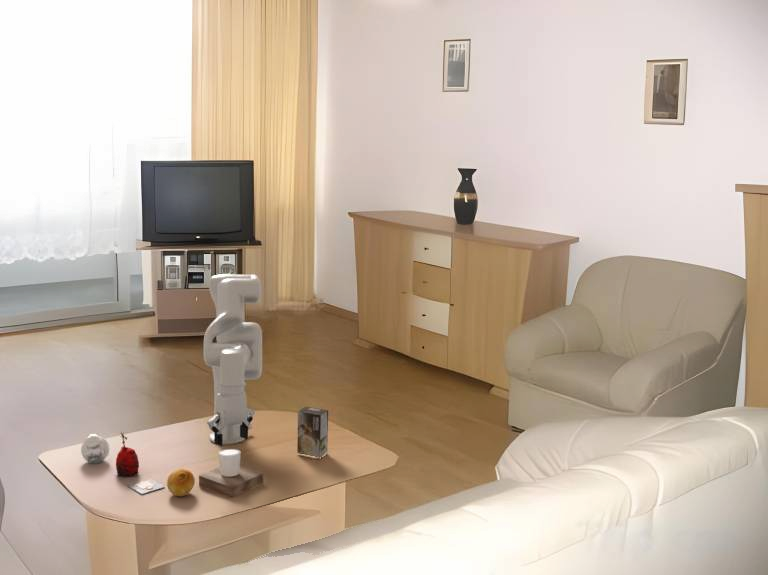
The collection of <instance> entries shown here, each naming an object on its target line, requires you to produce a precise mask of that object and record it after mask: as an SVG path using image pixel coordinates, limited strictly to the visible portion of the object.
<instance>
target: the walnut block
mask: <svg viewBox="0 0 768 575" xmlns="http://www.w3.org/2000/svg"><path fill="white" fill-rule="evenodd" d="M263 483H264V474H263V472H260V471H258V470H254V469H251V468H248V467H246V466H243V465H240V467H239V474H238V475H236V476H231V477H226V476H222V475H221V470H220V466H219V467H217V468H214V469H211V470H209V471H206V472H205V473H202V474H199V475H198V486H199V487H202V488H203V489H207V490H210V491H213V492H215V493H217V492H218V494H221V495H223V496H225V495H226V496H225V497H229V498H230V499H231V498H234V497H236V496H238V495H241V494H243V493H245V492H247V491H249V490H252V489H254V488H256V487H258V486H261V485H262V484H263Z"/></svg>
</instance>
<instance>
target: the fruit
mask: <svg viewBox="0 0 768 575" xmlns="http://www.w3.org/2000/svg"><path fill="white" fill-rule="evenodd" d="M195 482H196V481H195V476H194V474H193V473H192V471H190V470H189V469H188V470H187V469H184V468H178V469H175V470H173V471H172V472H171V473H170V474H169V475H168V478H167V479H166V486H167V489H168V492H170V493H171V494H172V495H173V496H175V497H184V496H186V495H188V494H189V493H190V492H191V491H192V490H193V488H194V486H195Z"/></svg>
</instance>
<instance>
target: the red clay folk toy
mask: <svg viewBox="0 0 768 575" xmlns="http://www.w3.org/2000/svg"><path fill="white" fill-rule="evenodd" d="M120 434H121V436H120V438H122V445H123V446H121V448H120V450H119V451H118V453H117V456H116V458H115V462H116V463H115V467H116V468H115V469H116V473H117V474H116V475H118V476H120V477H125V476H127V477H128V476H129V477H133V476H137V475H138V474H139V468H140V464H139V463H140V462H139V457H138V454H137V452H136V450H135V449H133V448H132V447H128V446H125V442H126V441H127V440H128V437H127V436H125V435H124V432H123V433H122V432H120Z"/></svg>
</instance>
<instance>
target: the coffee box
mask: <svg viewBox="0 0 768 575" xmlns="http://www.w3.org/2000/svg"><path fill="white" fill-rule="evenodd" d="M328 430H329V410H327V409H323V408H317V407H311V406H304V407H302V408H301V409H300V410H298V411H297V450H296V451H297V453H299V454H305V455H310V456H315V457H319V458H320V457H322V456H323V455H324V454H325V453H326V452H327V453H328V443H329V442H328V438H329V437H328V435H329V431H328ZM297 453H296V454H297Z"/></svg>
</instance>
